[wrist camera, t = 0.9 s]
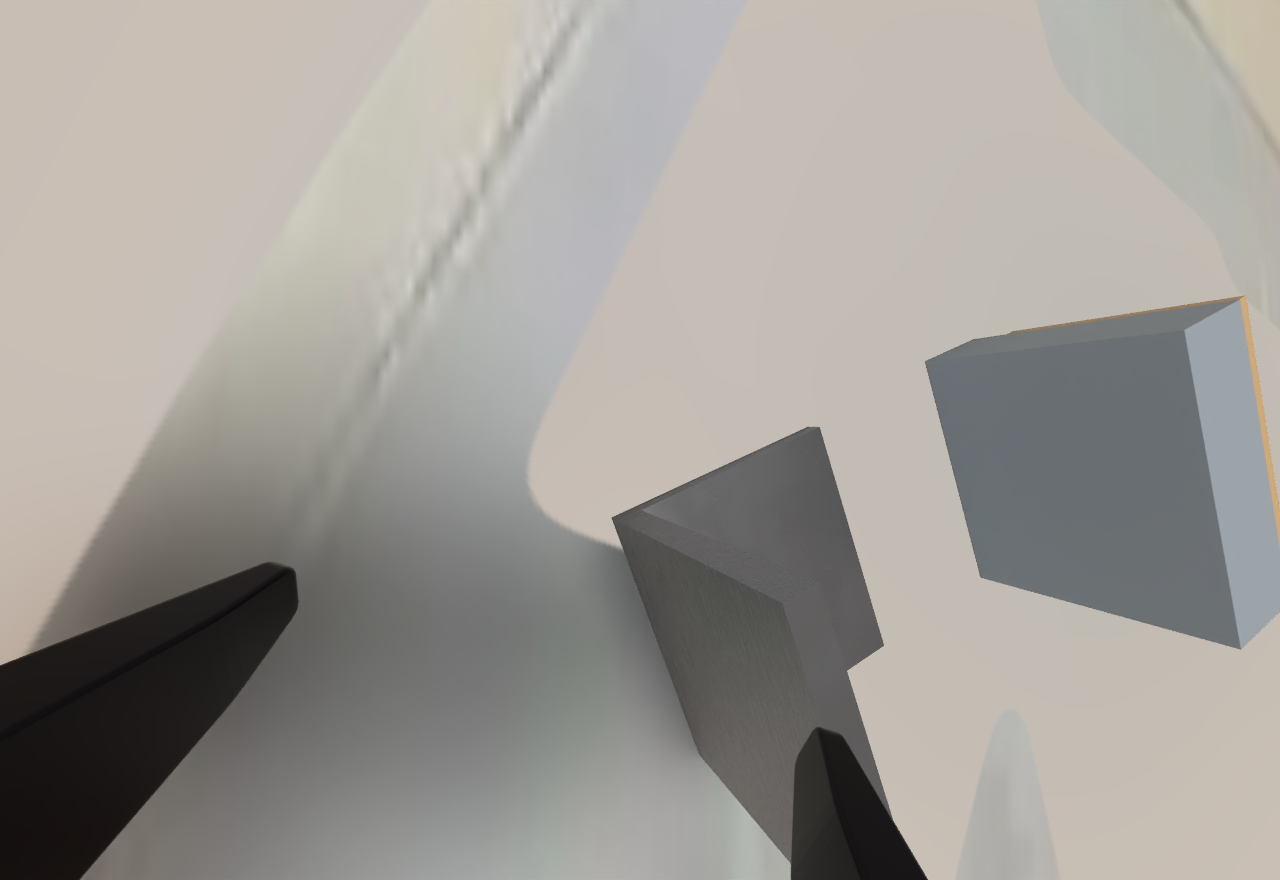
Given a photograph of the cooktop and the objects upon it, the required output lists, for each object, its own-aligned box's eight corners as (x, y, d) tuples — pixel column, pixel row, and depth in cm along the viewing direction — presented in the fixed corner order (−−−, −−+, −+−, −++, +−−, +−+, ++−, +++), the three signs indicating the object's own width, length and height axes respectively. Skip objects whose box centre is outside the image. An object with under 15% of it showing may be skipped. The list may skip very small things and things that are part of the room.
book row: (980, 577, 29) (1241, 649, 20) (924, 361, 27) (1184, 329, 18) (1107, 492, 33) (1375, 519, 24) (1065, 297, 31) (1340, 244, 22)
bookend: (698, 753, 23) (914, 1010, 13) (611, 517, 22) (782, 602, 11) (871, 639, 27) (1150, 774, 16) (807, 426, 25) (1075, 429, 15)
